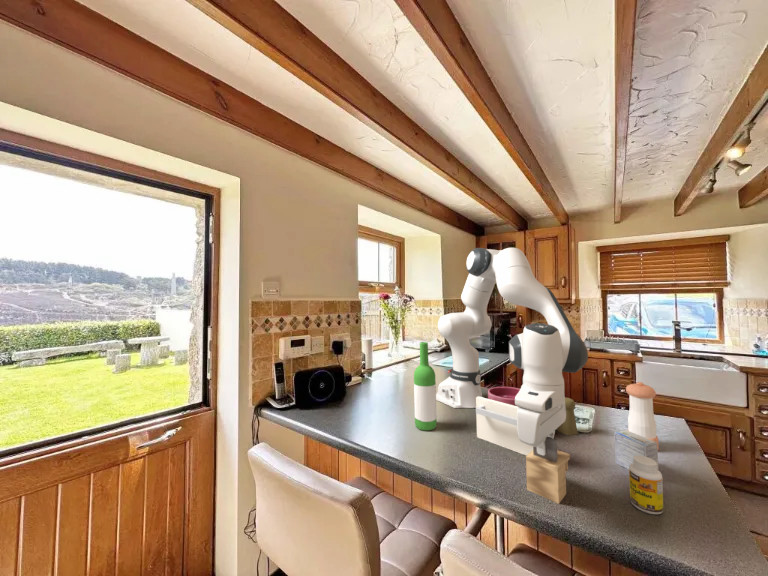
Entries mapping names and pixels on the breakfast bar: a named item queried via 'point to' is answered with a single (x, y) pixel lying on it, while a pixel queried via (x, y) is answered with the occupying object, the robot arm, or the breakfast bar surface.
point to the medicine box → (633, 448)
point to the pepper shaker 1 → (569, 419)
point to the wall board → (499, 425)
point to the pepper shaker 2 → (642, 411)
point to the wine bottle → (425, 392)
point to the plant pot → (503, 394)
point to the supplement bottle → (646, 485)
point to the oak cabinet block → (547, 471)
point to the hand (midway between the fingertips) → (545, 450)
